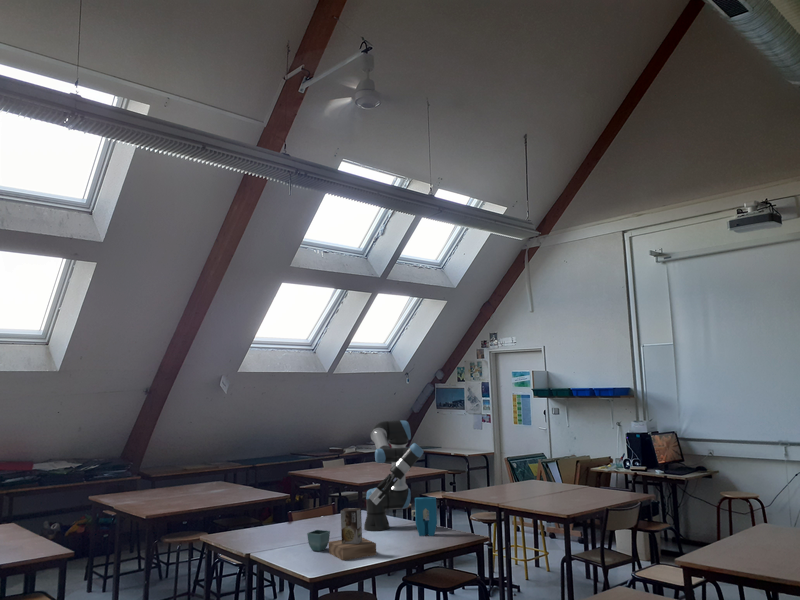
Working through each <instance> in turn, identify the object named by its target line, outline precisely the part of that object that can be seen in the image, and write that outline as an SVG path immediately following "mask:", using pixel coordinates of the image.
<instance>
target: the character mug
mask: <svg viewBox="0 0 800 600" xmlns="http://www.w3.org/2000/svg"><path fill="white" fill-rule="evenodd" d="M411 516H412V517H415V509H414V510H411ZM428 517H429V511H428V510H427V509H426V508H425V509H424V510H423V520H427V518H428ZM415 526H416V525H415ZM415 529H416V530H417V526H416V527H415Z"/></svg>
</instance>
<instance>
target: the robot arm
mask: <svg viewBox="0 0 800 600" xmlns="http://www.w3.org/2000/svg"><path fill="white" fill-rule="evenodd" d="M411 433H412V432H411V426H410V424H409V421H408V420H402V419H401V420H398V419H397V420H383V421H379V422H377V423H376V424H375V425H374V426H372V428H371V430H370V433H369V434H370V435H369V436H370V439H371V441H372V442H373V443H374V445H375V448H376V449H375V450H374V458H375V459H374V460H375V463H377V464H391V468H390V473H389V474H387V476H386V477H385V478H384V479H383V480H382V481H381V482H380V483H379V484H377V487H374V488H370V489H368V490H367V491H366V496H365V497H366V498H365V499H366V517H365V522H364V523H363V527H364V528H363V529H364V530H366V531H371V532H374V531H375V532H376V531H377V532H378V531H379V532H381V531H385V530H386V531H387V530H388V529H390V522H389V519H388V516H387V510H404V509H407V508H409V506H410V504H411V498H412V495H411V493H412V492H411V489H410V488H409V486H408V484H407V483H406V474H407V473H408V472H410V470H411V468H412V467H413V466H414V465H415V464H416V462H417V461H418V460H419V459H420V458H421V457H422V455H423V454H424V449H422V447H420V446H419V445H418V444H417V443H416V442H413V443H412V444H411V445H410V446H407V445H408V444H409V441H410V440H411V439H412V435H411Z"/></svg>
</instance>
